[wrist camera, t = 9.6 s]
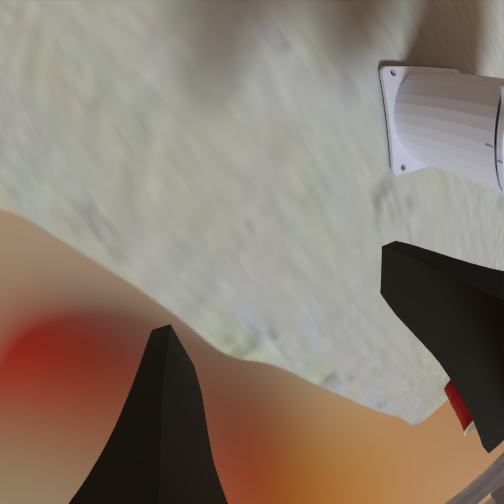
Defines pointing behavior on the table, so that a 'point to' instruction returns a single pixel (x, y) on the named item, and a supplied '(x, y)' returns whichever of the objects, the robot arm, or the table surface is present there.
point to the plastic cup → (460, 408)
